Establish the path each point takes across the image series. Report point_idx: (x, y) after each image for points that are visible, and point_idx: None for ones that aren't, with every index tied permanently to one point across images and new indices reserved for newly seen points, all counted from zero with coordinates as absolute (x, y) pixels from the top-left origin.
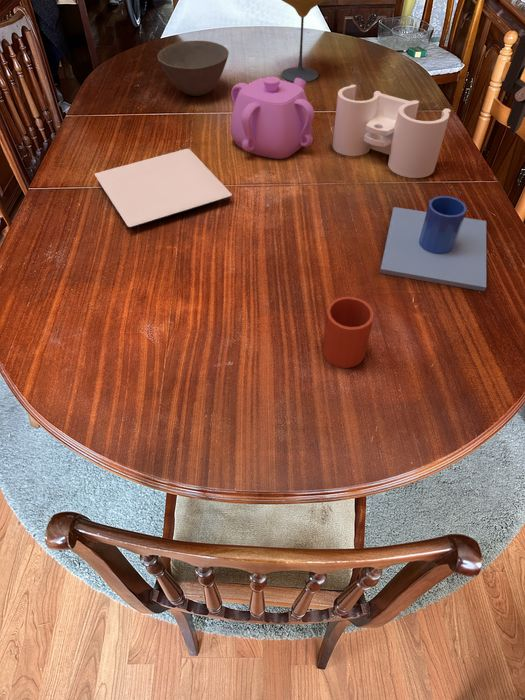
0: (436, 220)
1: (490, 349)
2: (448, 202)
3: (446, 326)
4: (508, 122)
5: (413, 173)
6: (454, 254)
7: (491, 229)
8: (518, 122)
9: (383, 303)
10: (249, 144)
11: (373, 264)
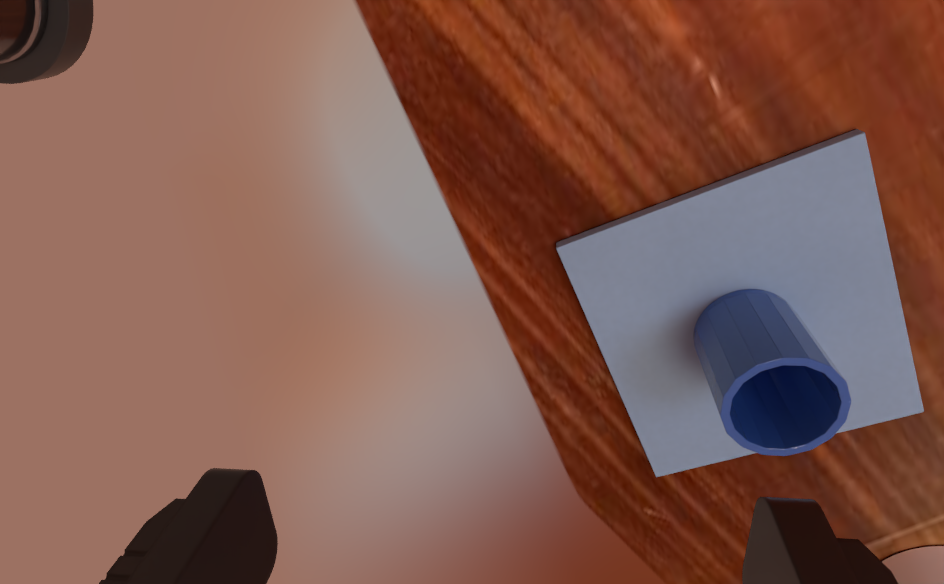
0: (791, 344)
1: (453, 46)
2: (786, 436)
3: (586, 47)
4: (868, 566)
5: (914, 562)
6: (680, 319)
7: (633, 461)
8: (787, 577)
9: (794, 6)
10: None
11: (891, 153)
